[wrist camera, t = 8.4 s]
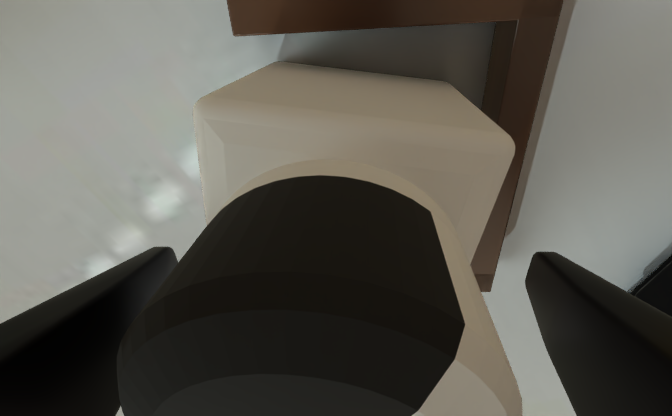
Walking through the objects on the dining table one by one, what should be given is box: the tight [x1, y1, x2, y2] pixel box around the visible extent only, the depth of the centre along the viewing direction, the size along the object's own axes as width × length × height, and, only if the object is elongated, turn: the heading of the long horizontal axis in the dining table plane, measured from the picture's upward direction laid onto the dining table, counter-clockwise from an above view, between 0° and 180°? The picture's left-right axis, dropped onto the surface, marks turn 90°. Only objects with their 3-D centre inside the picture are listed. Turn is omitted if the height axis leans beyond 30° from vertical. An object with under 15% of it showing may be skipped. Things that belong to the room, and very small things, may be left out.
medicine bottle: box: [117, 61, 522, 416], centre depth 10 cm, size 7×7×12 cm
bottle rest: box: [227, 0, 563, 292], centre depth 14 cm, size 10×12×2 cm
